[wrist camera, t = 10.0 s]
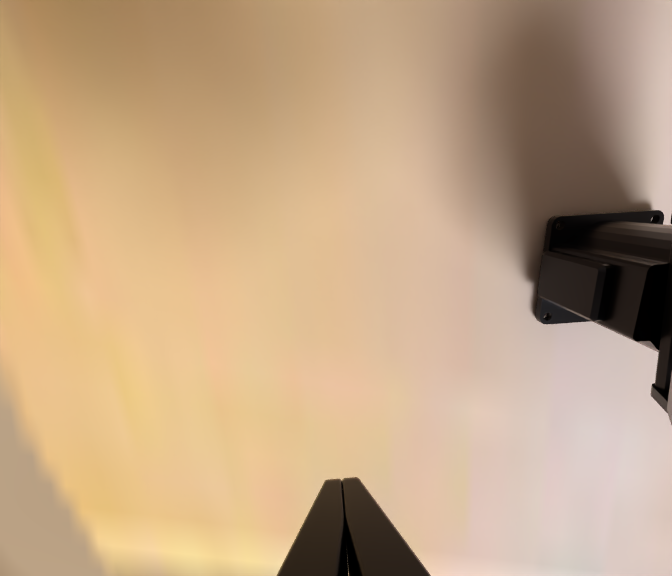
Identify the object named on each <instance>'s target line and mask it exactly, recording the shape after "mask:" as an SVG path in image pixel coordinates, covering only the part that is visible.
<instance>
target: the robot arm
mask: <svg viewBox="0 0 672 576" xmlns="http://www.w3.org/2000/svg"><path fill="white" fill-rule="evenodd" d="M652 217H653V219H652V221H651V218H652ZM663 220H664V214H663V212H661V211H659V210H642V211H625V212H609V213H593V214H577V215H561V216H554V217H552V218H551V219H550V220H549V221H548V223H547V229H546V236H545V244H544V252H543V255H542V262H541V270H540V278H539V286H538V299H537V307H536V319H537V320H538V321H539V322H541V323H543V324H558V323H572V322H586V321H593V322H595V323H597V324H599V325H601V326H603V327H606V328H608V329H610V330H612V331H614V332H616V333H618V334H621V335H623V336H625V337H627V338H629V339H631V340H634V341H636V342H638V343H640V344H642V345H644V346H647V347H649V348H651V349H653V350H655V351H657V352H659V355H658V363H657V371H656V380H655V383H654V384H652V388H651V396H652V397H653V398H654V399H655V400H656V401H657V403H658V404H659V405H660V406H661V407H662V408H663V409H664V410H665V411H666V412H667V413H668V415H669V418H670V421H671V424H672V225H663ZM558 222H560V225H559V227H558V228H556V224H557V223H558ZM671 224H672V215H671ZM546 313H547V316H546V317H545V318H544V315H545V314H546ZM342 489H343V490H342ZM347 558H348V560H347ZM348 571H349V576H431V575H430V574H429V572H428V571H427V570H426V568H425V567H424V566H423V564H422V563H421V562H420V560H419V559H418V558H417V556H416V555H415V554H414V552H413V551H412V550H411V548H410V547H409V545H408V544H407V543H406V541H405V540H404V539H403V537H402V536H401V535H400V533H399V532H398V531H397V529H396V528H395V527H394V525H393V524H392V523H391V521H390V520H389V518H388V517H387V516H386V514H385V513H384V512H383V510H382V509H381V508H380V506H379V505H378V504H377V502H376V501H375V500H374V498H373V497H372V496H371V494H370V493H369V491H368V490H367V489H366V487H365V486H364V485H363V483H362V482H361V481H360V479H359V478H357V477H353V478H344V479H343V480H342V481H341V479H330V480H326V481H325V482H324V484H323V486H322V488H321V490H320V492H319V494H318V496H317V498H316V500H315V501H314V503H313V505H312V507H311V509H310V511H309V513H308V515H307V517H306V519H305V521H304V523H303V525H302V527H301V529H300V531H299V533H298V535H297V537H296V539H295V541H294V543H293V545H292V547H291V549H290V550H289V552H288V554H287V556H286V558H285V560H284V562H283V564H282V566H281V568H280V570H279V572H278V574H277V576H348Z"/></svg>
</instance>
